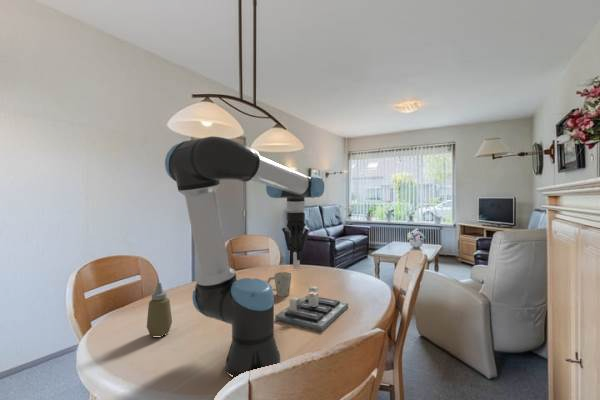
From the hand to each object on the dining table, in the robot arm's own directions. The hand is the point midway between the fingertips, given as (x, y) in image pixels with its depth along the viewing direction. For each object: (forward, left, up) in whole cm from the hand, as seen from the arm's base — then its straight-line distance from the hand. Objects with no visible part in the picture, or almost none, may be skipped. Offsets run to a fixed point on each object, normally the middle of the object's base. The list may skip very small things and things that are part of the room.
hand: (296, 267), depth 123 cm
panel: (0, -8, -18) cm, 20 cm away
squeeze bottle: (-42, +31, -18) cm, 55 cm away
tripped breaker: (0, -8, -15) cm, 17 cm away
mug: (+13, +18, -18) cm, 29 cm away
